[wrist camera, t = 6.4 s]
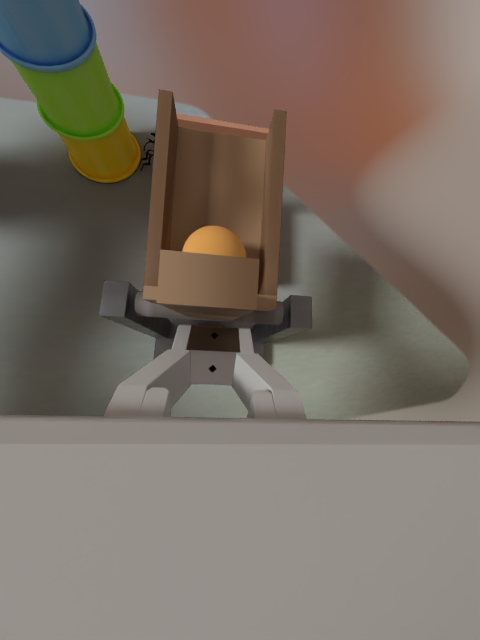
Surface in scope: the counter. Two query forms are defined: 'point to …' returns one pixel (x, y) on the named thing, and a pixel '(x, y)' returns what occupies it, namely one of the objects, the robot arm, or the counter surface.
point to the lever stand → (122, 310)
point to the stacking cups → (70, 84)
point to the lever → (213, 222)
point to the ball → (215, 242)
